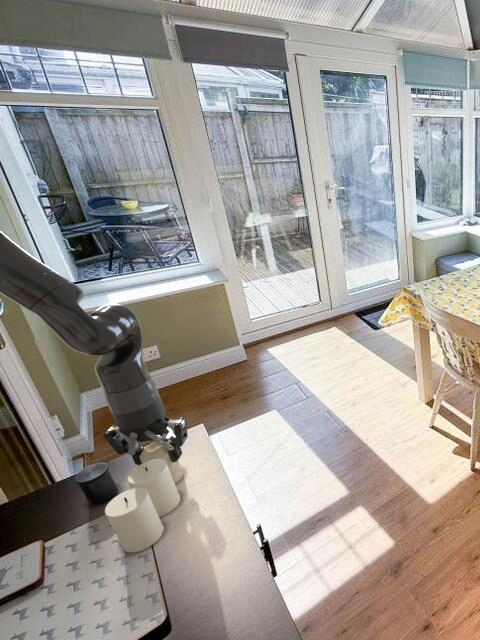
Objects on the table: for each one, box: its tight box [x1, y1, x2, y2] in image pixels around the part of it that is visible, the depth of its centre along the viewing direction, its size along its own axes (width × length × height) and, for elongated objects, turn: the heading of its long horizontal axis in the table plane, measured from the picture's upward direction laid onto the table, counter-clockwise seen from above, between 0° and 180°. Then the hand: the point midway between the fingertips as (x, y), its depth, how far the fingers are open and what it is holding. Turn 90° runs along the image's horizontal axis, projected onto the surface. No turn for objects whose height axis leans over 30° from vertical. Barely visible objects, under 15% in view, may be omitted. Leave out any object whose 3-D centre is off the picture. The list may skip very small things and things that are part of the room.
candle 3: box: [104, 488, 165, 554], centre depth 77 cm, size 6×6×11 cm
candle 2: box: [127, 459, 181, 518], centre depth 84 cm, size 6×6×11 cm
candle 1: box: [140, 441, 184, 485], centre depth 90 cm, size 6×6×10 cm
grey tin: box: [74, 462, 119, 506], centre depth 86 cm, size 5×5×7 cm
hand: (160, 461), depth 89 cm, fingers closed on candle 1, 5 cm apart
